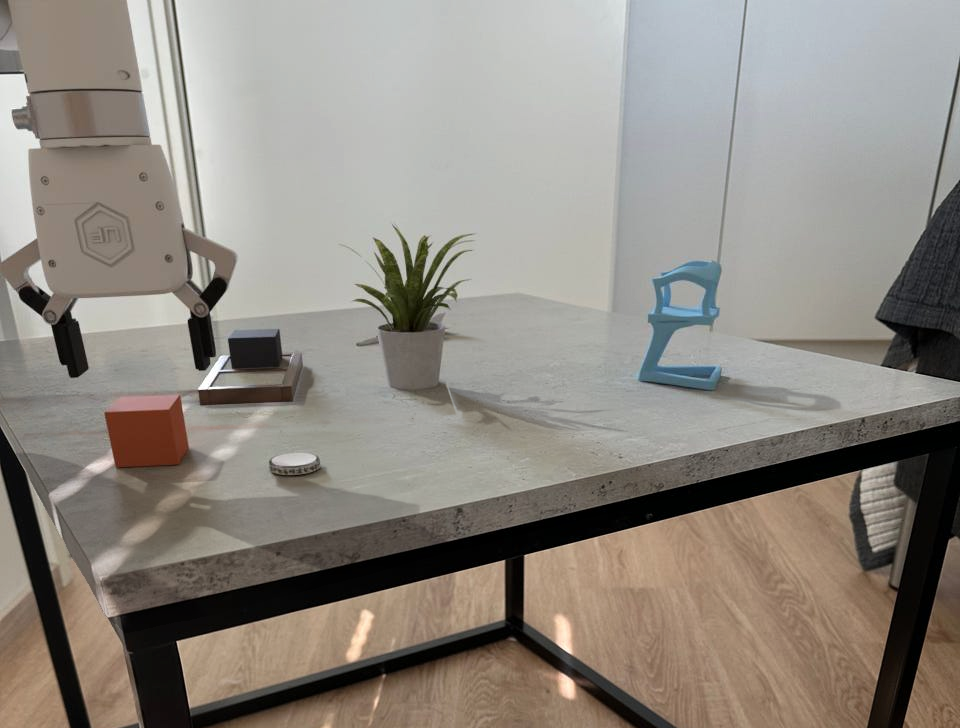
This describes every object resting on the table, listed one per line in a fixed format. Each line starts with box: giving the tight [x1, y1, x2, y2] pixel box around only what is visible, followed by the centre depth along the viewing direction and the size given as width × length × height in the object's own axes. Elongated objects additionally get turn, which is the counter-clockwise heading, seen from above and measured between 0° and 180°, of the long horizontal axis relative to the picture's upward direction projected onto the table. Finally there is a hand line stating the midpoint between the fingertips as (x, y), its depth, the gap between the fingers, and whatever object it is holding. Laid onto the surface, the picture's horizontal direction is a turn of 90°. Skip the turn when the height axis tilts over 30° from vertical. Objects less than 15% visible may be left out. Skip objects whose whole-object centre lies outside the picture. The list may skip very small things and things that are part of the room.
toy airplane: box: [355, 312, 457, 347], centre depth 123 cm, size 8×21×2 cm, turn 140°
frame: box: [197, 351, 304, 407], centre depth 98 cm, size 9×17×2 cm, turn 6°
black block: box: [227, 328, 284, 369], centre depth 100 cm, size 5×5×4 cm
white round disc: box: [268, 452, 321, 476], centre depth 73 cm, size 4×4×1 cm
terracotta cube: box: [103, 394, 190, 469], centre depth 76 cm, size 5×5×4 cm
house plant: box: [339, 222, 478, 391], centre depth 93 cm, size 14×14×16 cm
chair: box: [637, 259, 723, 391], centre depth 96 cm, size 8×8×12 cm
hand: (142, 370), depth 73 cm, fingers open, 9 cm apart
